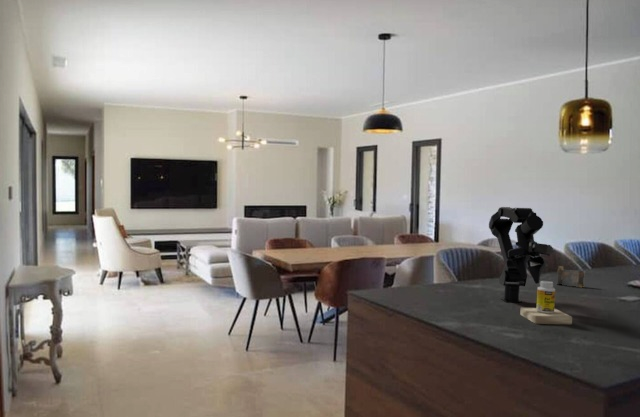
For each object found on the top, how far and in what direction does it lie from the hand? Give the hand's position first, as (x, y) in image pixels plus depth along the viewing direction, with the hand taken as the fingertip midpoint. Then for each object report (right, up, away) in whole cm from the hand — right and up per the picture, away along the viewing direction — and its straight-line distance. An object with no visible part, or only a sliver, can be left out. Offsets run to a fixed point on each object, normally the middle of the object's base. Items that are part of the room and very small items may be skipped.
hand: (531, 280), depth 185 cm
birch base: (0, -11, -11) cm, 16 cm away
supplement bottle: (0, -9, -10) cm, 14 cm away
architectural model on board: (+41, -11, +57) cm, 71 cm away
